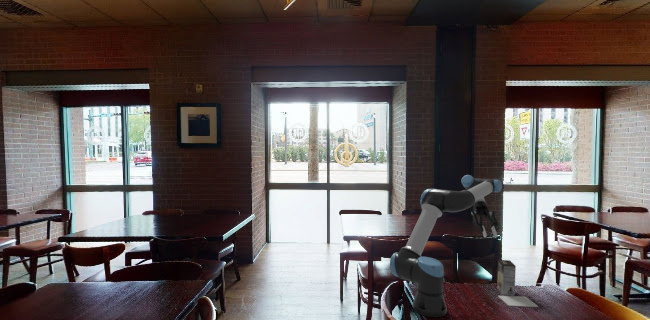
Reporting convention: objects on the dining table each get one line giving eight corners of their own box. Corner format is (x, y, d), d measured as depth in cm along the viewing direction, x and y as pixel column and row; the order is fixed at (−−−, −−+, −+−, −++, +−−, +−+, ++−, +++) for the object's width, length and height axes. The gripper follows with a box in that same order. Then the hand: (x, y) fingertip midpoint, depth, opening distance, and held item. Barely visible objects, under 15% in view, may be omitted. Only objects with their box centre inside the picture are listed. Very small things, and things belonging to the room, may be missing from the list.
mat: (508, 306, 159) (508, 305, 159) (497, 296, 170) (497, 295, 170) (538, 307, 158) (538, 306, 158) (525, 297, 169) (525, 296, 169)
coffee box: (496, 288, 180) (497, 259, 180) (509, 289, 179) (510, 260, 179) (502, 295, 172) (502, 264, 171) (515, 296, 170) (516, 265, 170)
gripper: (492, 208, 208) (504, 240, 192) (462, 207, 209) (472, 239, 192) (496, 200, 202) (509, 233, 186) (466, 200, 203) (476, 232, 187)
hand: (490, 236), depth 189 cm, fingers open, 5 cm apart
